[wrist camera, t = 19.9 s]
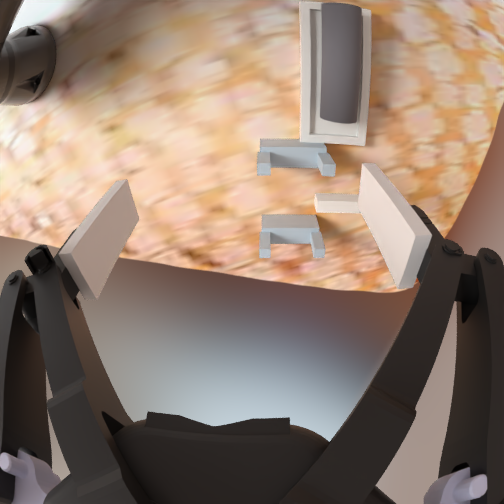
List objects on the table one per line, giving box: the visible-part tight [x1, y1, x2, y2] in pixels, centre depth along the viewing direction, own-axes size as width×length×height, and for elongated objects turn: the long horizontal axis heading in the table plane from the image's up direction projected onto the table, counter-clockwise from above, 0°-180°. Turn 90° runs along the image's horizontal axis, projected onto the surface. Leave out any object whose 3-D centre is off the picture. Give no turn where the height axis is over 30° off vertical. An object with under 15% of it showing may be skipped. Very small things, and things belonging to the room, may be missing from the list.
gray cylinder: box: [320, 3, 362, 124], centre depth 28 cm, size 16×5×5 cm, turn 2°
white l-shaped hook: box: [314, 193, 361, 213], centre depth 33 cm, size 2×10×4 cm, turn 92°
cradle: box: [257, 139, 336, 258], centre depth 41 cm, size 16×10×8 cm, turn 2°
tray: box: [299, 1, 372, 146], centre depth 32 cm, size 21×10×2 cm, turn 2°
